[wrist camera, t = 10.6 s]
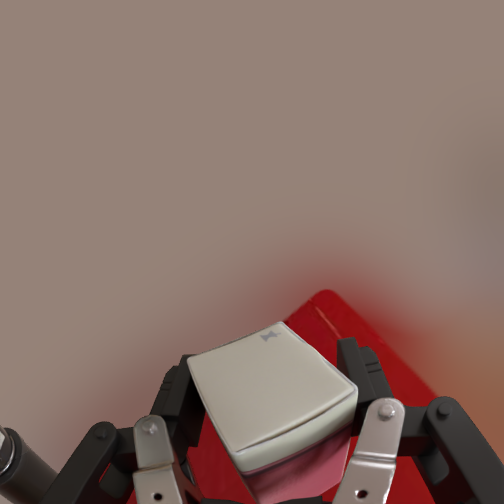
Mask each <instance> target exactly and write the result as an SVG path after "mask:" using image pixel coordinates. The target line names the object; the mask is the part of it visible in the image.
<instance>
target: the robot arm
mask: <svg viewBox="0 0 504 504" xmlns="http://www.w3.org/2000/svg"><path fill="white" fill-rule="evenodd" d="M194 355H197V354H187V355H183V356H182V358H181V360H180V363H179V366H173V367H172V368H171V369H170V370H169V371H168V372H167V373H166V375H165V377H164V380H163V384H162V385H161V387H160V390H159V392H158V395H157V397H156V399H155V402H154V404H153V407H152V409H151V412H150V414H149V415H148V416H144V417H142V418H141V419H139V420H138V421H137V422H136V424H135V425H134V427H129V428H122V429H116V428H115V427H114V425H113V424H112V423H110V422H99V423H96V424H95V425H93V426H92V427H91V428H90V430H89V431H88V433H87V434H86V436H85V437H84V438H83V440H82V441H81V443H80V444H79V445H78V447H77V448H76V450H75V451H74V452H73V454H72V455H71V457H70V458H69V460H68V461H67V463H66V464H65V466H64V467H63V468H62V470H61V471H60V473H59V474H58V476H57V477H56V479H55V480H54V482H53V483H52V485H51V486H50V488H49V489H48V491H47V492H46V494H45V495H44V497H43V498H42V500H41V501H40V503H39V504H126V503H127V501H128V499H129V497H130V495H131V493H132V491H133V490H134V488H135V493H136V498H137V503H138V504H243V503H239V502H235V501H231V500H220V499H207V498H205V497H204V495H203V494H202V492H201V490H200V488H199V485H198V483H197V480H196V477H195V474H194V471H193V468H192V465H191V462H190V459H189V456H188V454H187V451H188V447H198V442H199V438H200V433H201V429H202V424H203V420H204V416H205V411H206V409H205V407H204V404H203V402H202V400H201V398H200V395H199V393H198V391H197V388H196V386H195V383H194V381H193V378H192V375H191V373H190V370H189V367H188V364H187V359H188V358H189V357H191V356H194ZM337 369H338V370H339V371H340V372H341V373H342V374H343V375H344V376H346V377H347V378H348V379H349V380H350V381H351V382H352V383H354V384H355V385H356V386H357V388H358V398H357V404H356V410H355V416H354V421H353V427H352V433H351V437H354V436H359V439H358V442H357V445H356V448H355V450H354V453H353V455H352V456H351V459H350V461H349V464H348V466H347V469H346V471H345V474H344V476H343V479H342V481H341V484H340V486H339V488H338V491H337V493H336V495H335V497H334V500H333V502H327V501H322V496H316V497H308V498H298V499H290V500H286V501H283V502H279V503H275V504H385V502H386V499H387V495H388V492H389V489H390V486H391V482H392V479H393V475H394V471H395V467H396V456H411V457H412V459H413V461H414V463H415V464H416V466H417V468H418V470H419V472H420V474H421V476H422V478H423V480H424V482H425V484H426V486H427V487H428V489H429V491H430V493H431V495H432V497H433V499H434V501H435V503H436V504H504V465H503V464H502V462H501V461H500V459H499V458H498V456H497V455H496V453H495V452H494V451H493V449H492V448H491V446H490V445H489V443H488V442H487V441H486V439H485V438H484V436H483V435H482V434H481V432H480V431H479V429H478V428H477V427H476V426H475V424H474V423H473V421H472V420H471V419H470V417H469V416H468V415H467V413H466V412H465V411H464V409H463V408H462V407H461V406H460V404H459V403H458V402H457V401H456V400H455V399H453V398H450V397H446V396H443V397H438V398H435V399H434V400H432V401H431V402H430V403H429V405H428V406H425V407H410V406H405V405H403V404H402V403H401V402H400V401H398V400H397V399H395V398H394V396H393V394H392V391H391V389H390V386H389V384H388V381H387V379H386V377H385V374H384V372H383V370H382V367H381V365H380V363H379V360H378V358H377V355H376V353H375V352H374V351H373V350H371V349H370V348H369V347H368V346H366V347H360V348H359V347H358V344H357V342H356V339H355V337H350V338H345V339H339V340H337ZM15 456H16V444H15V441H14V439H13V438H12V436H11V435H10V434H9V433H8V432H6V431H5V430H4V429H3V427H2V426H1V425H0V477H1V476H3V475H4V474H5V473H7V471H8V470H9V469H10V468H11V466H12V464H13V462H14V460H15ZM109 462H110V463H111V464H110V466H109V468H108V469H107V471H106V473H105V474H104V476H103V478H102V479H101V481H100V482H99V479H100V477H101V475H102V474H103V472H104V471H105V469H106V467H107V466H108V464H109Z"/></svg>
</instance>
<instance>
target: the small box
mask: <svg viewBox="0 0 504 504" xmlns="http://www.w3.org/2000/svg"><path fill="white" fill-rule="evenodd" d="M187 364H188V367H189V370H190V373H191V375H192V378H193V381H194V383H195V386H196V388H197V391H198V393H199V395H200V398H201V400H202V402H203V404H204V407H205V409H206V411H207V414H208V416H209V418H210V420H211V422H212V424H213V426H214V429H215V431H216V433H217V435H218V437H219V439H220V440H221V442H222V444H223V446H224V448H225V450H226V452H227V454H228V456H229V458H230V460H231V461H232V463H233V465H234V467H235V469H236V471H237V473H238V474H239V476H240V478H241V480H242V481H243V483H244V485H245V486H246V488H247V490H248V491H249V493H250V494H251V496H252V497H253V499H254V500H255V502H256V503H257V504H275V503H279V502H283V501H286V500H290V499H298V498H308V497H316V496H318V495H320V494H321V493H323V492H325V491H326V490H328V489H329V488H331V487H333V486H334V485H336V484H337V483H339V482H340V481H341V479H342V475H343V471H344V467H345V462H346V458H347V453H348V448H349V443H350V438H351V433H352V427H353V421H354V416H355V410H356V404H357V398H358V388H357V386H356V385H355V384H354V383H352V382H351V381H350V380H349V379H348V378H347V377H346V376H344V375H343V374H342V373H341V372H340V371H339V370H338V369H336V368H335V367H334V366H333V365H332V364H331V363H329V362H328V361H327V360H326V359H325V358H324V357H323V356H322V355H321V354H320V353H319V352H318V351H316V350H315V349H314V348H313V347H311V346H310V345H309V344H307V343H306V342H305V341H304V340H303V339H301V338H300V337H299V336H298V335H297V334H295V333H294V332H293V331H292V330H291V329H289V328H288V327H287V326H286V325H285V324H284V323H283V322H277V323H275V324H273V325H271V326H269V327H266V328H263V329H261V330H258V331H256V332H254V333H251V334H248V335H246V336H243V337H241V338H238V339H236V340H233V341H231V342H228V343H226V344H223V345H220V346H218V347H215V348H213V349H211V350H208V351H205V352H202V353H200V354H197V355H194V356H191V357H189V358H188V359H187Z"/></svg>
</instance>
